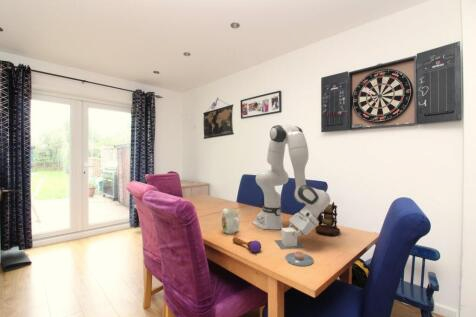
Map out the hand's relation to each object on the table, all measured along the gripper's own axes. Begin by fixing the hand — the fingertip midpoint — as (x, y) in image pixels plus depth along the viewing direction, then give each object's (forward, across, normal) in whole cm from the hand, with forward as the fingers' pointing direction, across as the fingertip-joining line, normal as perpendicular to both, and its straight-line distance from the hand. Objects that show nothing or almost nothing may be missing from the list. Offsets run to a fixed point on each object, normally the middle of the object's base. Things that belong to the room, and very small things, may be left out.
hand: (290, 233), depth 128 cm
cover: (+5, 0, +3) cm, 6 cm away
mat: (+5, 0, +4) cm, 6 cm away
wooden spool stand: (-17, -16, +26) cm, 35 cm away
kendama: (+22, 0, -13) cm, 26 cm away
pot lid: (+6, +18, +3) cm, 19 cm away
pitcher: (+26, -25, -17) cm, 40 cm away
